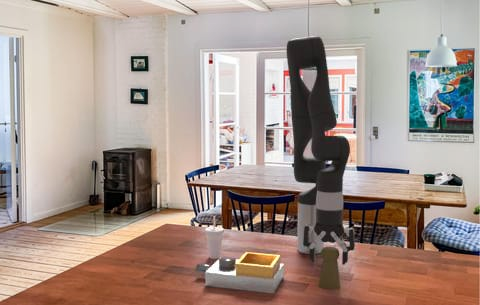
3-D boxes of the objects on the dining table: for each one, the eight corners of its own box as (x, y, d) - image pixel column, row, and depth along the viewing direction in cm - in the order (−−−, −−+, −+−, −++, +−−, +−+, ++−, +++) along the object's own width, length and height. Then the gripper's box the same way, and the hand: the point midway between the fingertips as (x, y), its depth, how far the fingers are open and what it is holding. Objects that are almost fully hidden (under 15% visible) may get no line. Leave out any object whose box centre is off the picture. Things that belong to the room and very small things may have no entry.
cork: (314, 285, 139) (315, 247, 138) (326, 279, 143) (326, 243, 142) (332, 290, 135) (333, 252, 134) (344, 284, 139) (345, 247, 138)
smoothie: (224, 253, 167) (223, 214, 166) (224, 259, 161) (223, 218, 159) (205, 254, 167) (205, 214, 165) (204, 260, 161) (204, 218, 159)
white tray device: (205, 268, 153) (205, 247, 152) (283, 276, 145) (283, 254, 145) (189, 283, 140) (188, 260, 139) (273, 293, 133) (273, 268, 132)
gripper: (356, 205, 138) (355, 260, 139) (306, 202, 142) (305, 256, 144) (354, 210, 131) (353, 269, 132) (302, 207, 135) (301, 264, 137)
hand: (328, 262), depth 138 cm, fingers open, 8 cm apart
